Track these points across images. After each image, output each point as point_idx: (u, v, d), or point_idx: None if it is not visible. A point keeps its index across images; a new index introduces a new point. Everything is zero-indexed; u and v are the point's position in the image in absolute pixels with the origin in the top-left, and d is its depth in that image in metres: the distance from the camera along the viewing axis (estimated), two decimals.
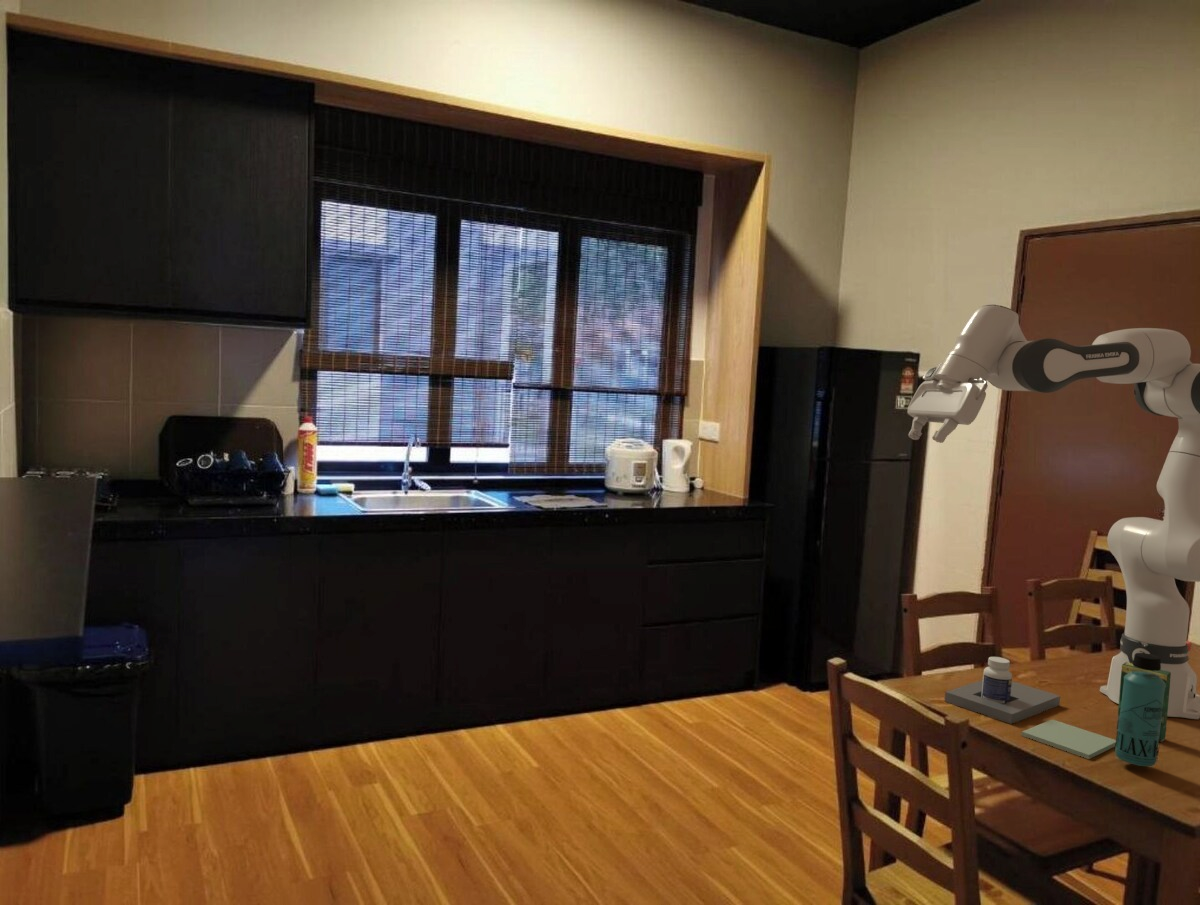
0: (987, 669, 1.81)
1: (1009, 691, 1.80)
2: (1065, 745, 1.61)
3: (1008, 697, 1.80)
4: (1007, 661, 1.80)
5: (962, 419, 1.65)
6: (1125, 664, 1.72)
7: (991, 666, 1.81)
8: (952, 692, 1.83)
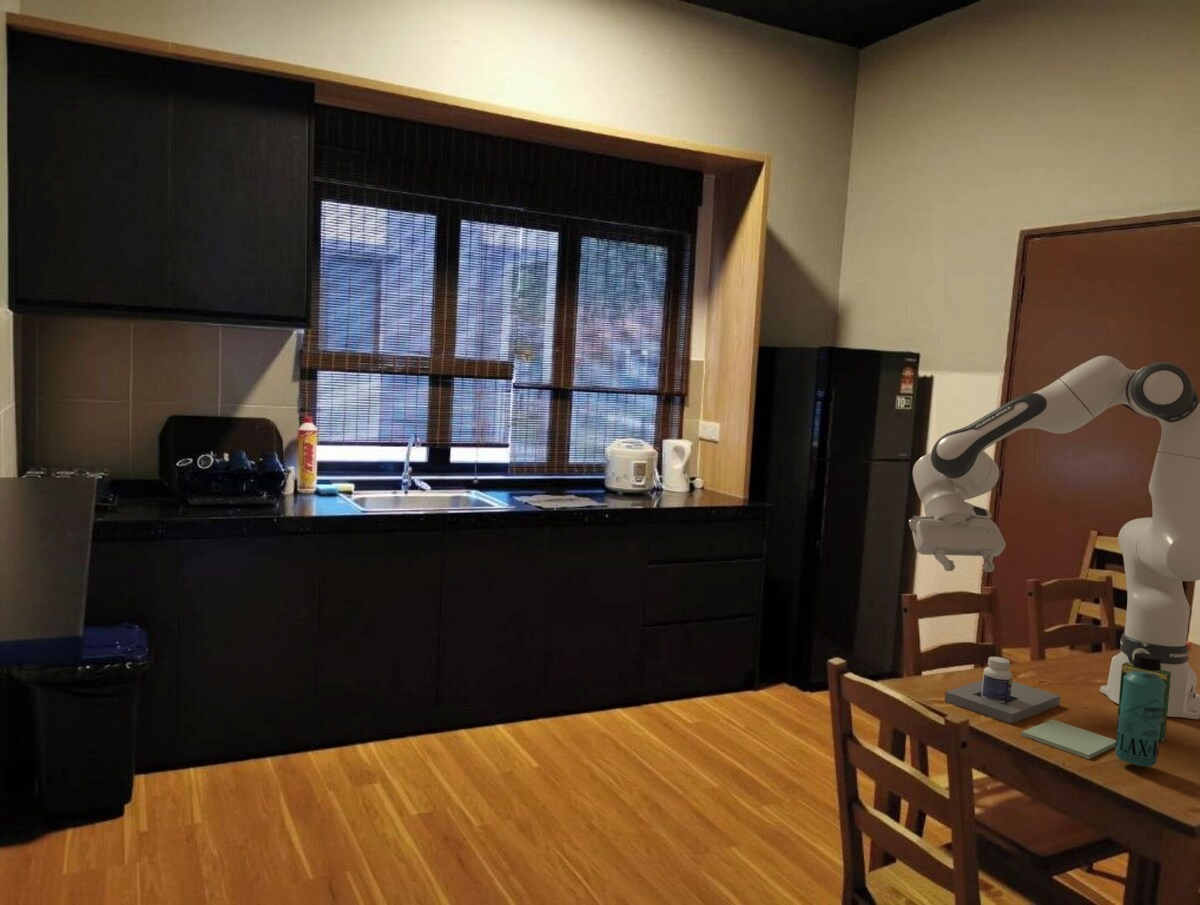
0: (987, 669, 1.81)
1: (1009, 691, 1.80)
2: (1065, 745, 1.61)
3: (1008, 697, 1.80)
4: (1007, 661, 1.80)
5: (922, 550, 1.93)
6: (1125, 664, 1.72)
7: (991, 666, 1.81)
8: (952, 692, 1.83)
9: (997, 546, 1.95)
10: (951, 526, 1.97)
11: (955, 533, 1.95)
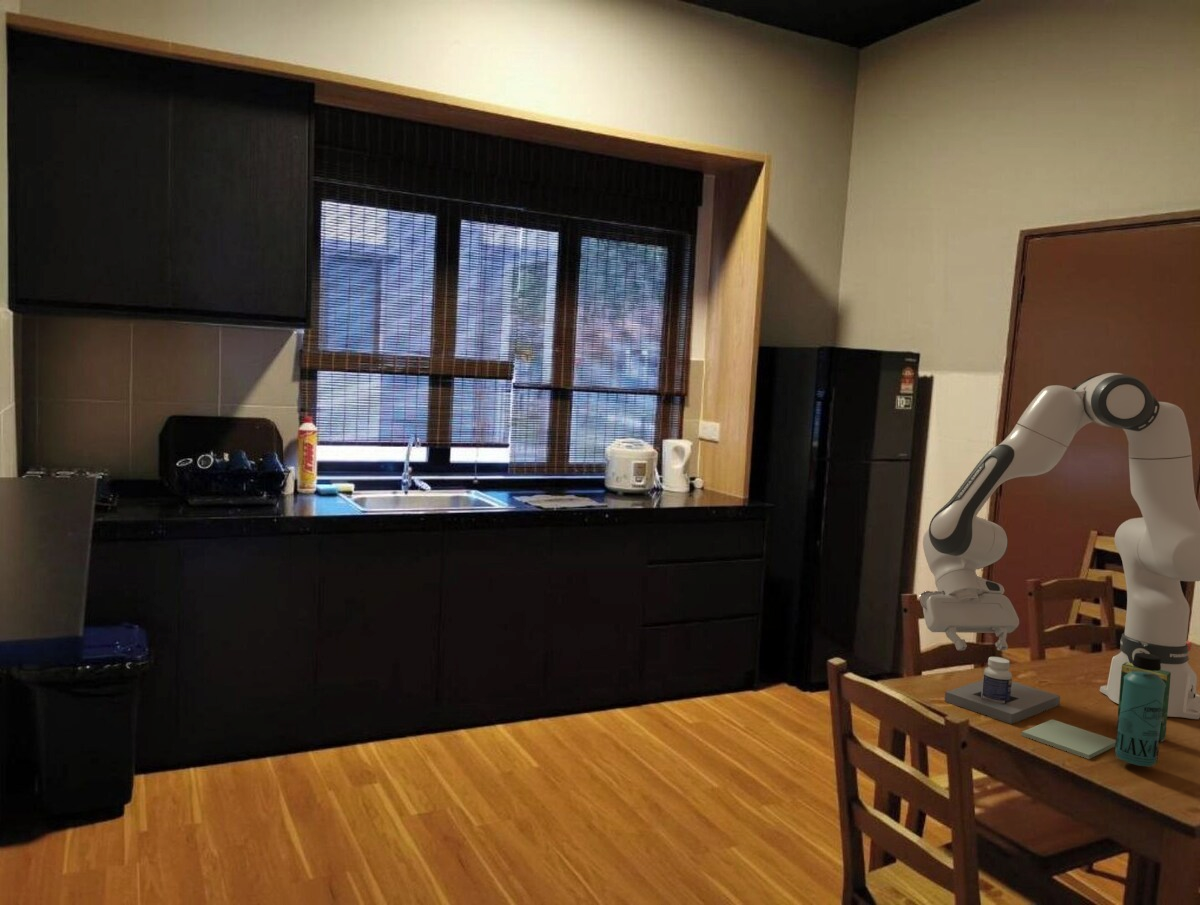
0: (987, 669, 1.81)
1: (1009, 691, 1.80)
2: (1065, 745, 1.61)
3: (1008, 697, 1.80)
4: (1007, 661, 1.80)
5: (933, 628, 1.88)
6: (1125, 664, 1.72)
7: (991, 666, 1.81)
8: (952, 692, 1.83)
9: (1011, 624, 1.90)
10: (963, 602, 1.91)
11: (967, 610, 1.90)
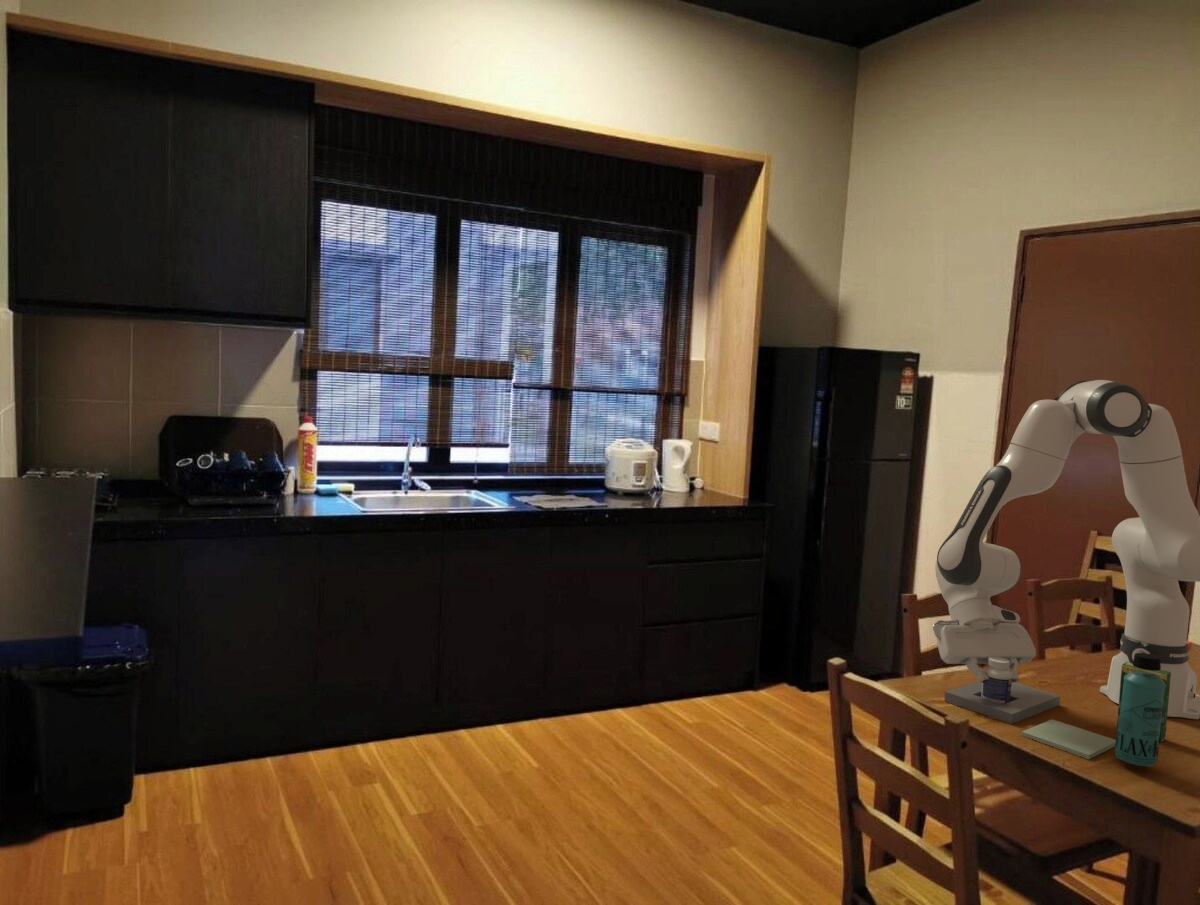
0: (987, 669, 1.81)
1: (1009, 691, 1.80)
2: (1065, 745, 1.61)
3: (1008, 697, 1.80)
4: (1007, 661, 1.80)
5: (947, 660, 1.82)
6: (1125, 664, 1.72)
7: (991, 666, 1.81)
8: (952, 692, 1.83)
9: (1027, 654, 1.84)
10: (978, 632, 1.86)
11: (982, 640, 1.85)
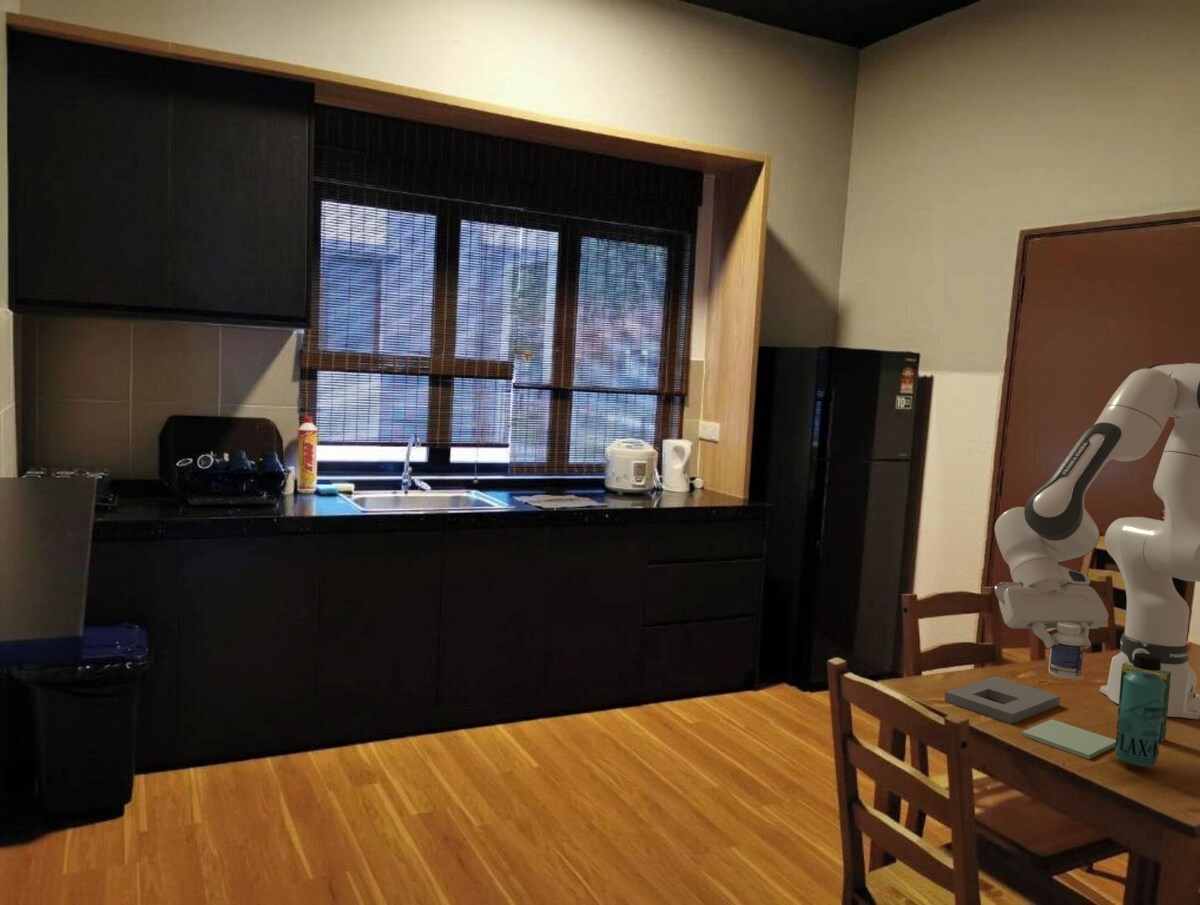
0: (1056, 635, 1.66)
1: (1081, 658, 1.65)
2: (1065, 745, 1.61)
3: (1079, 665, 1.65)
4: (1078, 626, 1.65)
5: (1012, 624, 1.68)
6: (1125, 664, 1.72)
7: (1060, 632, 1.66)
8: (952, 692, 1.83)
9: (1099, 618, 1.69)
10: (1044, 594, 1.71)
11: (1050, 603, 1.69)
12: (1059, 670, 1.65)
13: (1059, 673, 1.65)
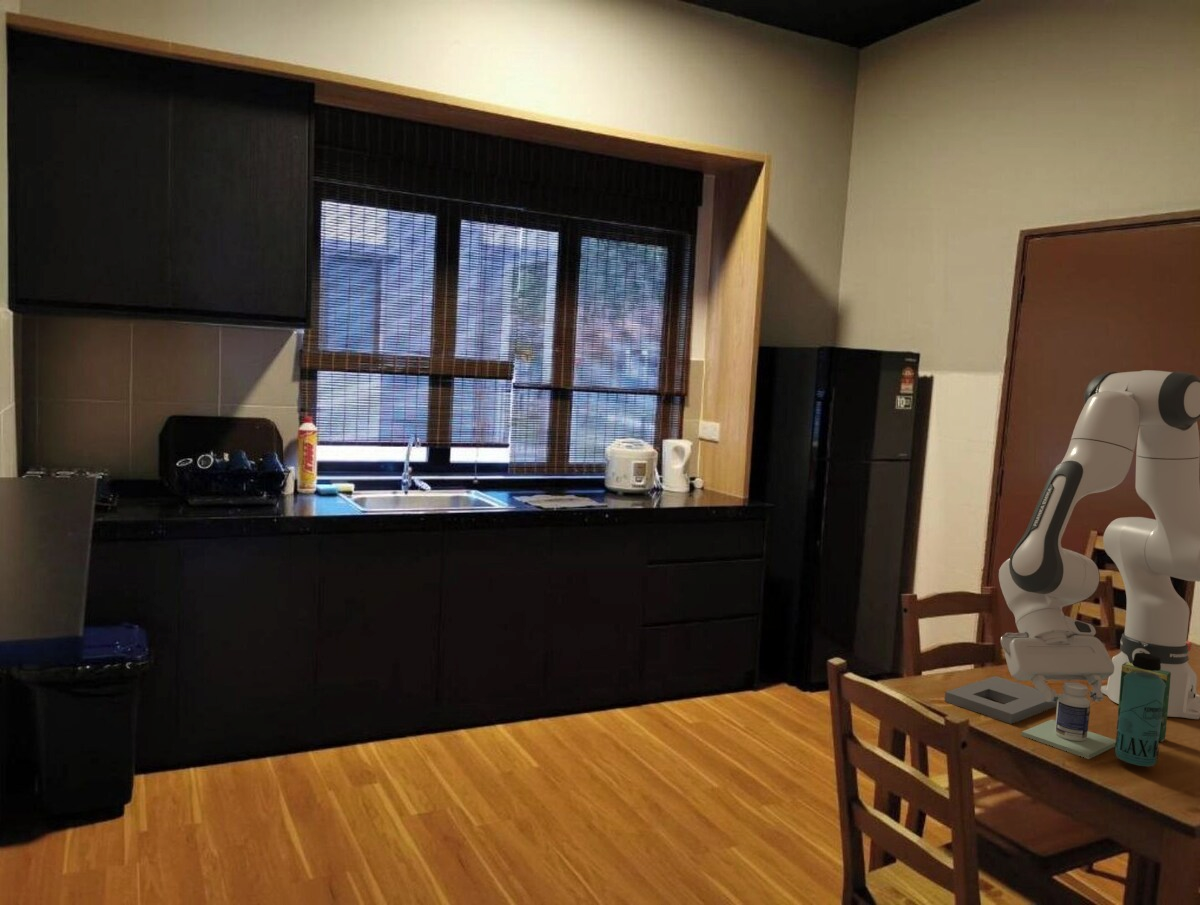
0: (1062, 696, 1.65)
1: (1087, 720, 1.63)
2: (1065, 745, 1.61)
3: (1086, 727, 1.63)
4: (1085, 687, 1.64)
5: (1018, 677, 1.66)
6: (1125, 664, 1.72)
7: (1066, 693, 1.64)
8: (952, 692, 1.83)
9: (1105, 670, 1.68)
10: (1050, 646, 1.69)
11: (1056, 655, 1.68)
12: (1065, 731, 1.64)
13: (1066, 735, 1.64)
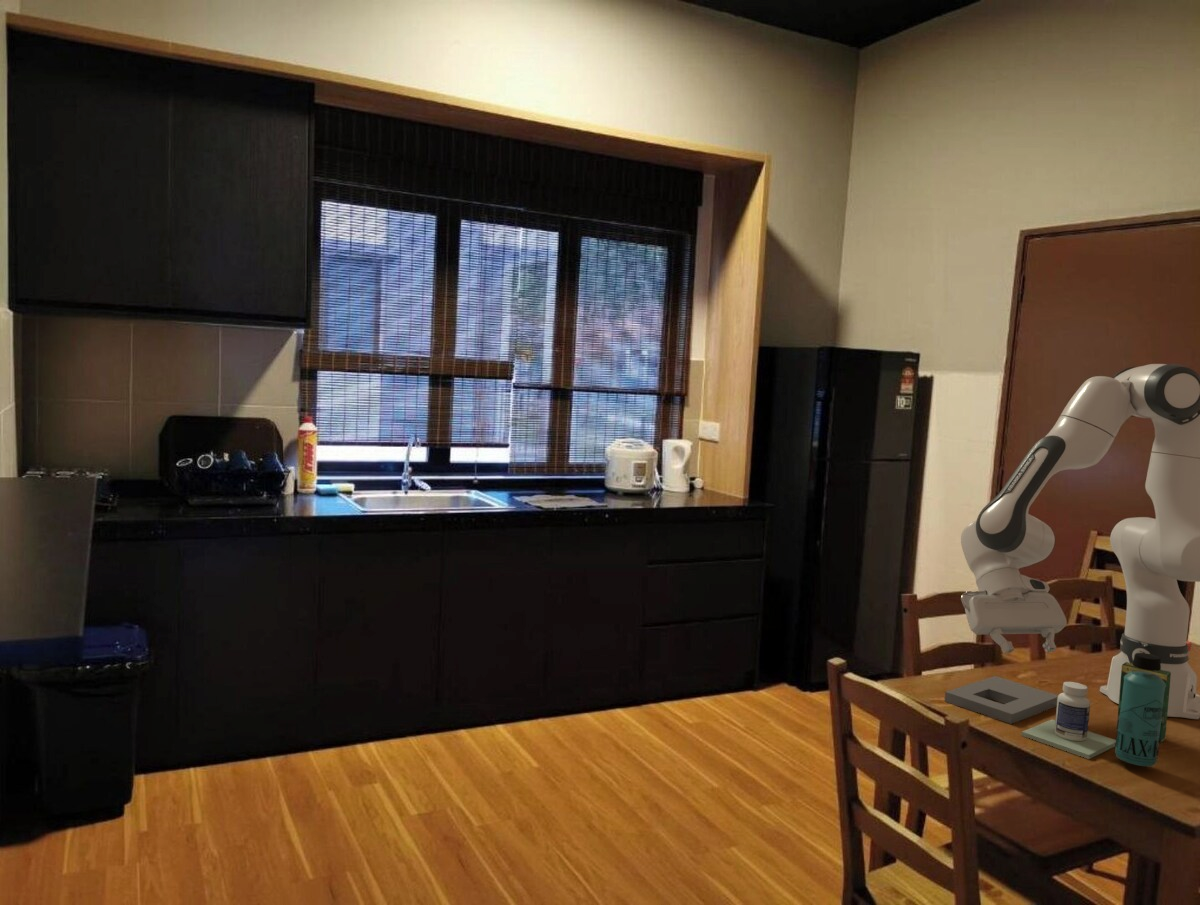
0: (1062, 696, 1.65)
1: (1087, 720, 1.63)
2: (1065, 745, 1.61)
3: (1086, 727, 1.63)
4: (1085, 687, 1.64)
5: (977, 630, 1.79)
6: (1125, 664, 1.72)
7: (1066, 693, 1.64)
8: (952, 692, 1.83)
9: (1058, 624, 1.81)
10: (1007, 602, 1.82)
11: (1012, 610, 1.81)
12: (1065, 731, 1.64)
13: (1066, 735, 1.64)
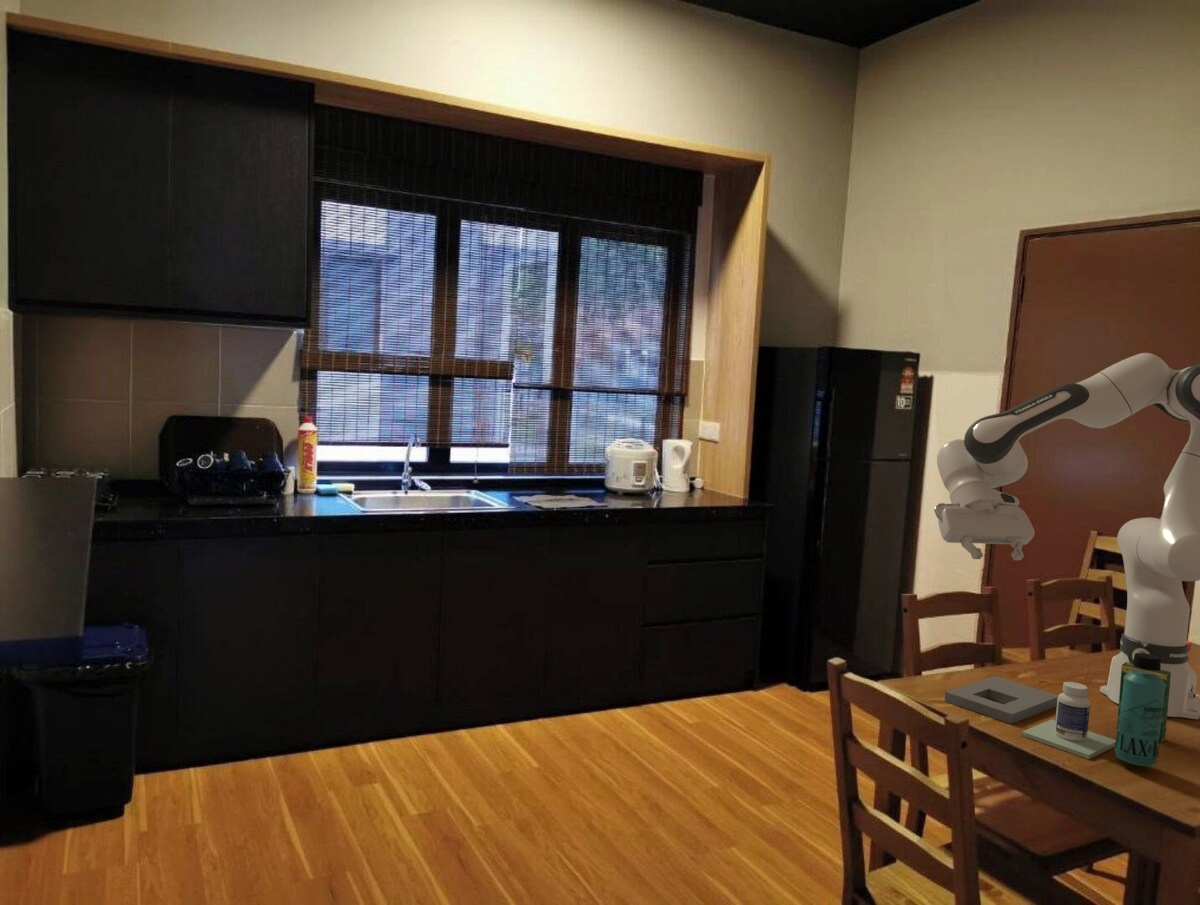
0: (1062, 696, 1.65)
1: (1087, 720, 1.63)
2: (1065, 745, 1.61)
3: (1086, 727, 1.63)
4: (1085, 687, 1.64)
5: (948, 538, 1.87)
6: (1125, 664, 1.72)
7: (1066, 693, 1.64)
8: (952, 692, 1.83)
9: (1026, 534, 1.89)
10: (978, 513, 1.91)
11: (982, 520, 1.90)
12: (1065, 731, 1.64)
13: (1066, 735, 1.64)
